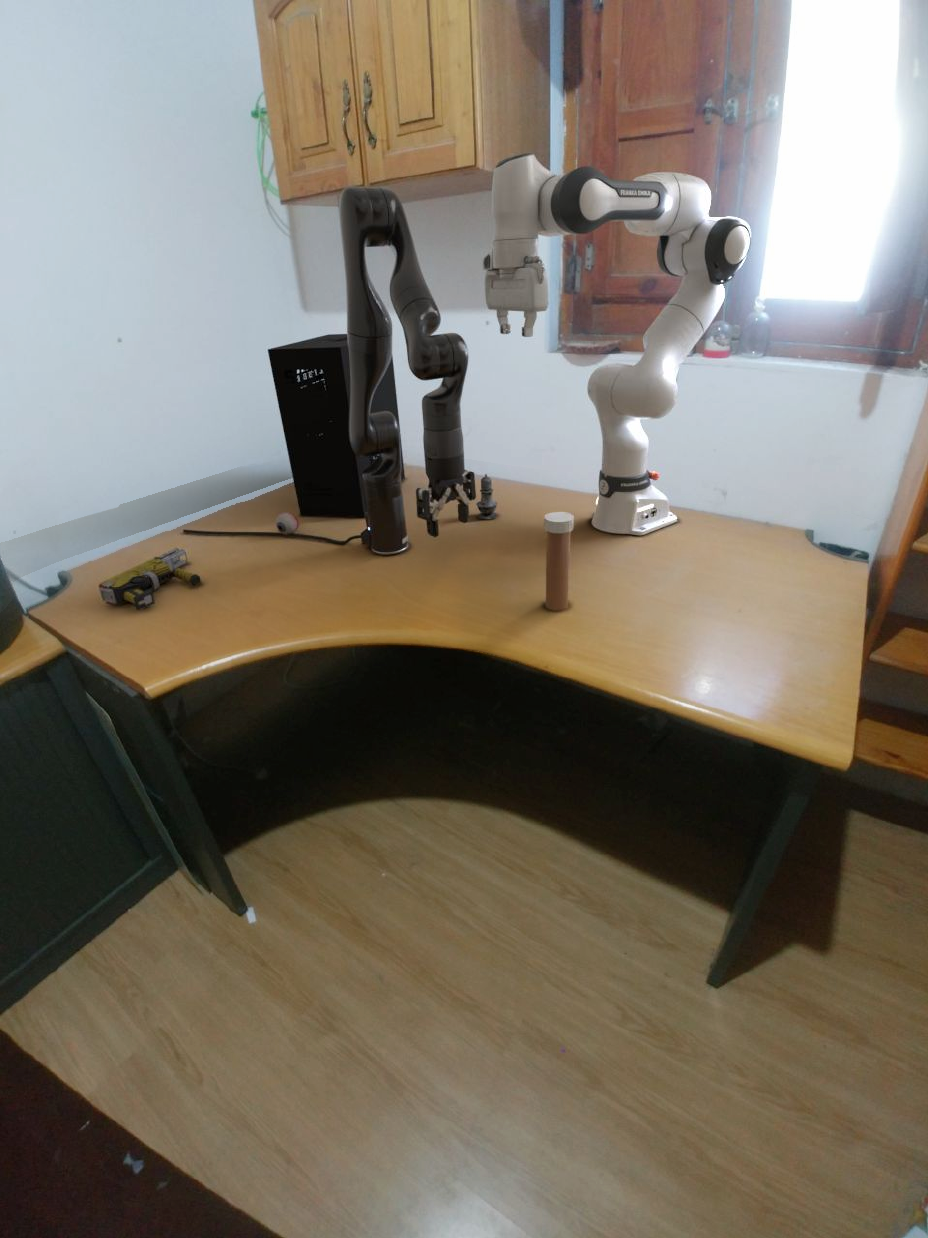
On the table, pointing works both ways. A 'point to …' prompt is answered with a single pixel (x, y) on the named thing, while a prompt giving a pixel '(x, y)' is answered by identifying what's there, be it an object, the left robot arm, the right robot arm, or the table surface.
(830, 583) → the table surface
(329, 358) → the cardboard box
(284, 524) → the eyeball
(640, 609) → the table surface
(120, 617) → the table surface
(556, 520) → the lid
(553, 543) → the tan cylinder
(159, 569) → the toy gun
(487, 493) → the grey stone chess piece
